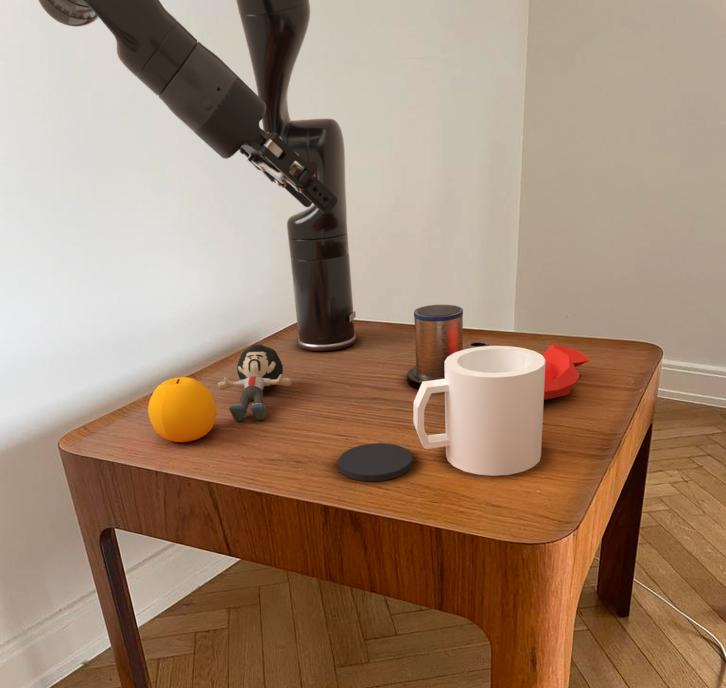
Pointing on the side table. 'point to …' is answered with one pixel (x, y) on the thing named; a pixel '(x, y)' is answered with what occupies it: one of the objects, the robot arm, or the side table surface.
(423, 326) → the pot
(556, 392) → the animal figurine
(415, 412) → the mug
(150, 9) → the robot arm
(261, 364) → the figurine
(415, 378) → the disc
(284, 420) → the side table surface
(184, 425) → the orange
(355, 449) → the trivet
